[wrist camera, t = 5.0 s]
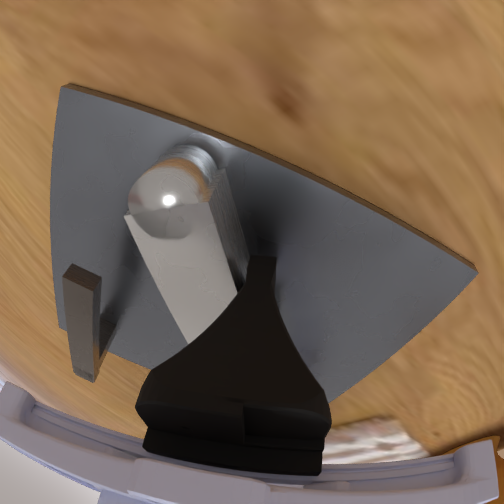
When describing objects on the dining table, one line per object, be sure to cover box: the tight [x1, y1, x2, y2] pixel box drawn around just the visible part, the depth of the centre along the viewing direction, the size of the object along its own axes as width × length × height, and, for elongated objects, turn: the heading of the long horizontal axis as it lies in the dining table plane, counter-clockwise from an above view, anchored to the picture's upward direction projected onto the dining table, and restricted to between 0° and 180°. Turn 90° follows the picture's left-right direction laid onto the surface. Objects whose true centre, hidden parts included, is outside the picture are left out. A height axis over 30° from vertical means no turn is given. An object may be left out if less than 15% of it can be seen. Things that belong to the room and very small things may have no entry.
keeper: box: [62, 263, 116, 383], centre depth 15 cm, size 9×1×4 cm, turn 158°
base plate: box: [50, 84, 478, 403], centre depth 16 cm, size 17×20×1 cm
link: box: [124, 144, 250, 344], centre depth 14 cm, size 13×4×3 cm, turn 12°
